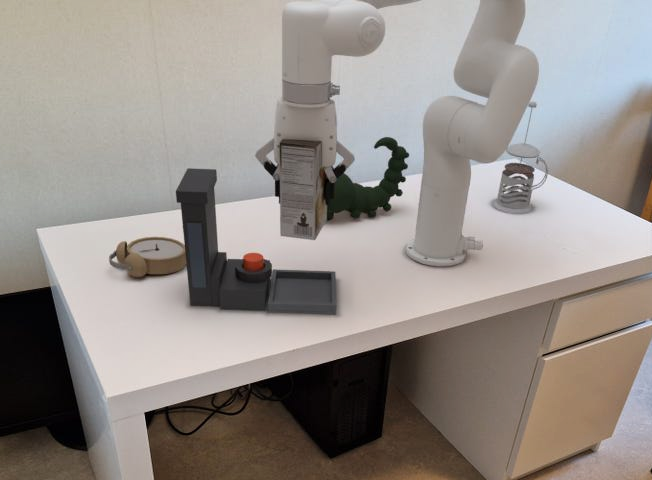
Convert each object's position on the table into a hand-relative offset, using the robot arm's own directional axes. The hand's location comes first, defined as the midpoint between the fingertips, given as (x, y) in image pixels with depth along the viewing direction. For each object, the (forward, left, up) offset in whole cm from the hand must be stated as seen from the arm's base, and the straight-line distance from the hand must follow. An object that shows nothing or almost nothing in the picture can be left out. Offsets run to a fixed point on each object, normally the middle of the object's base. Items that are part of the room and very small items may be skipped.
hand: (304, 200), depth 113 cm
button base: (+10, 0, -18) cm, 21 cm away
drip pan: (0, 0, -18) cm, 18 cm away
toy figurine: (-11, -39, -19) cm, 44 cm away
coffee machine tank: (+18, 0, -18) cm, 26 cm away
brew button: (+9, 0, -13) cm, 16 cm away
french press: (-52, -49, -19) cm, 73 cm away
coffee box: (0, 0, -5) cm, 5 cm away
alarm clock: (+30, -10, -19) cm, 37 cm away
